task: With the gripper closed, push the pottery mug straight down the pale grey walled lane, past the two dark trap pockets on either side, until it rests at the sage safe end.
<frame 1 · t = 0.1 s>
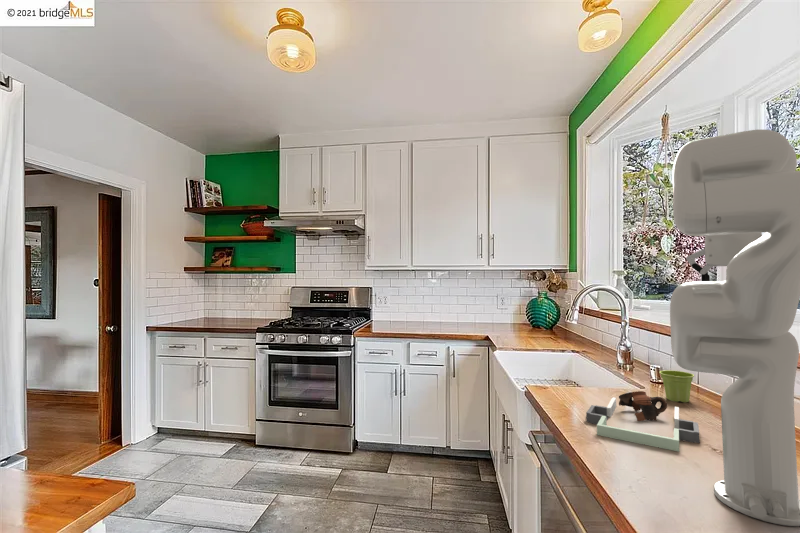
hand: (734, 291, 88), 37 cm above the countertop, tool pointing down, fingers open, 9 cm apart
pottery mug: (643, 417, 111), on the countertop
plant pot: (677, 400, 126), on the countertop
trap box: (640, 424, 105), on the countertop
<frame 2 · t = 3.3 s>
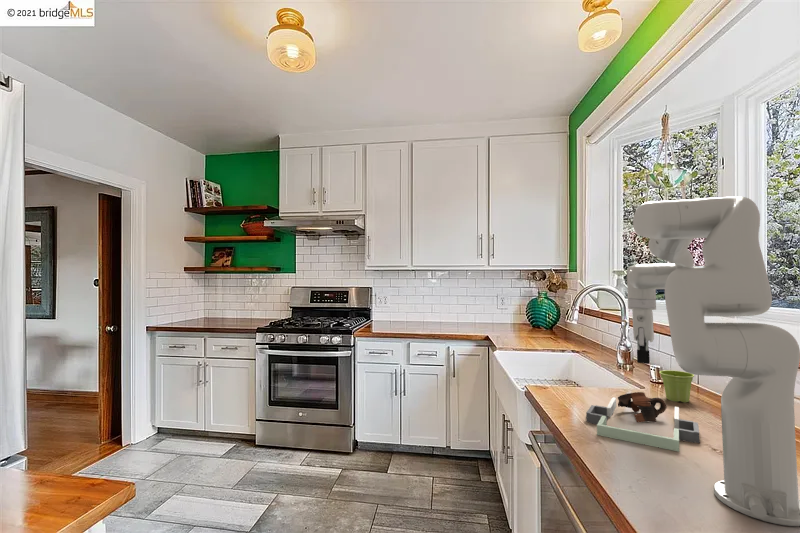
hand: (643, 362, 120), 14 cm above the countertop, tool pointing down, fingers closed
pottery mug: (642, 418, 110), on the countertop
everything else where it was.
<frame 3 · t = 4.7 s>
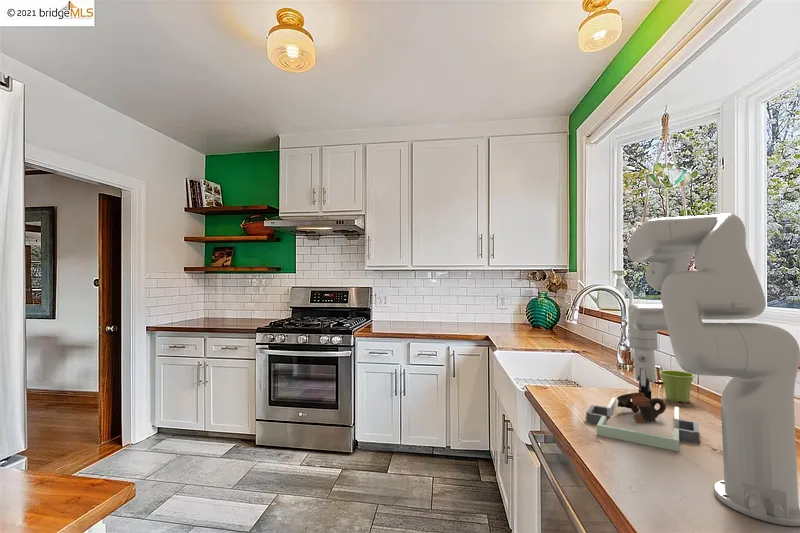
hand: (645, 402, 119), 1 cm above the countertop, tool pointing down, fingers closed
nothing on the countertop moved.
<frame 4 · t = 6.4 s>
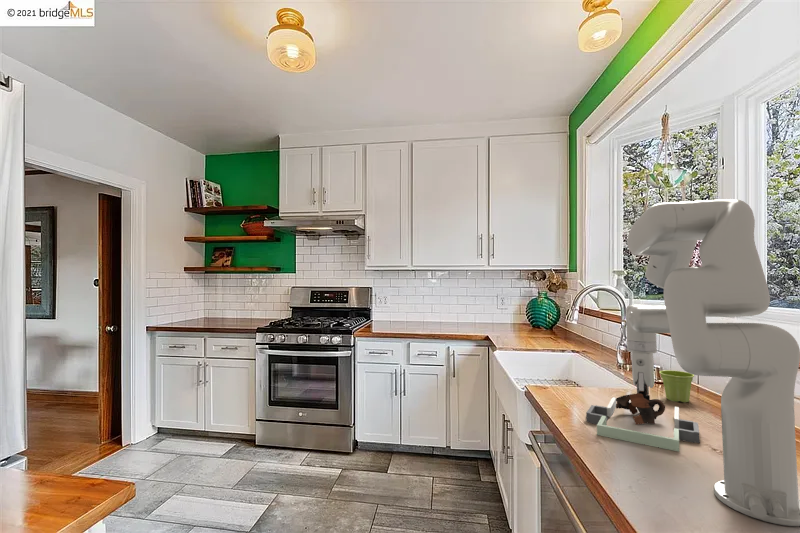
hand: (643, 408, 114), 1 cm above the countertop, tool pointing down, fingers closed
pottery mug: (640, 420, 108), on the countertop, touching gripper
everything else where it was.
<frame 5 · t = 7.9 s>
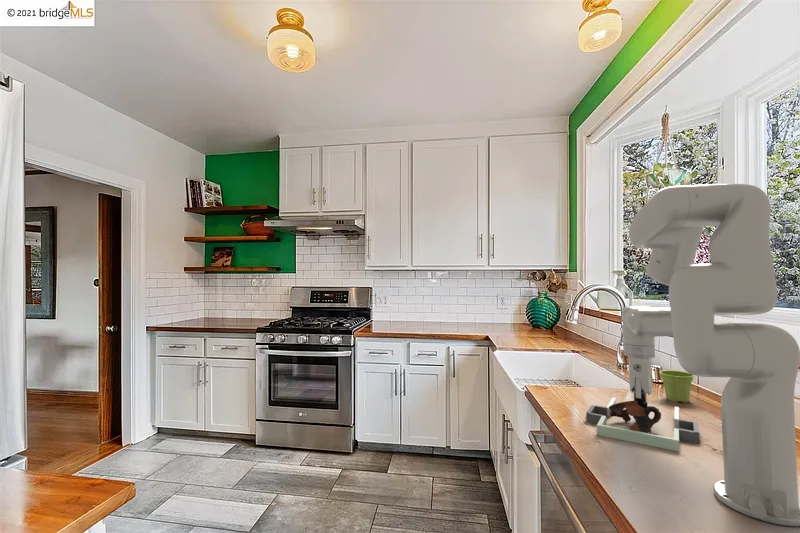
hand: (640, 416, 107), 1 cm above the countertop, tool pointing down, fingers closed
pottery mug: (635, 429, 102), on the countertop, touching gripper
everything else where it was.
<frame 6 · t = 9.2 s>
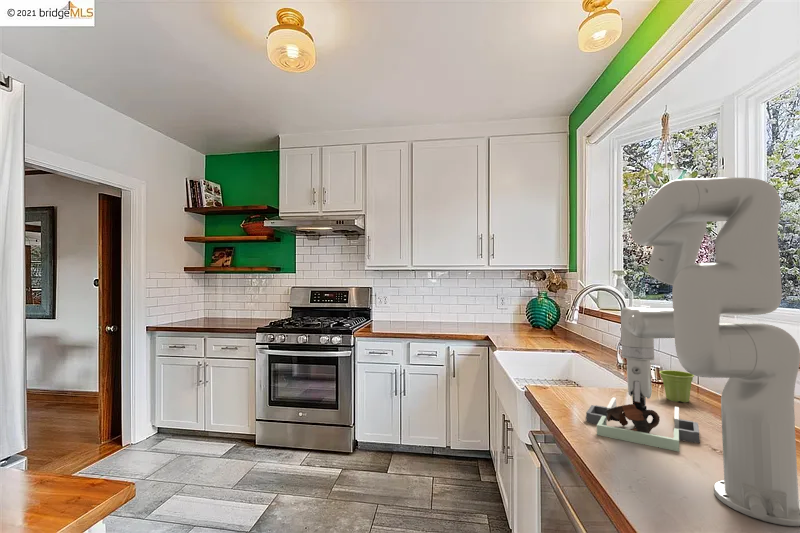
hand: (639, 420, 104), 1 cm above the countertop, tool pointing down, fingers closed
pottery mug: (633, 433, 99), on the countertop, touching gripper
everything else where it was.
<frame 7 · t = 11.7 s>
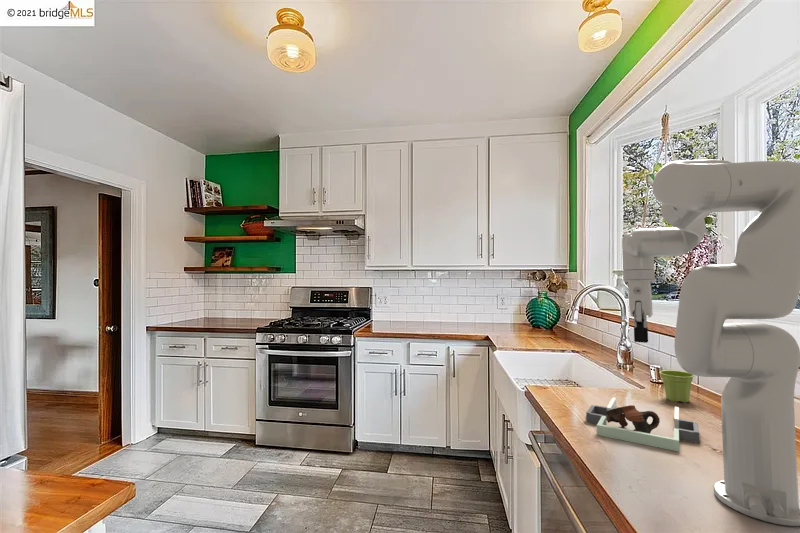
hand: (641, 341, 107), 22 cm above the countertop, tool pointing down, fingers closed
pottery mug: (633, 434, 99), on the countertop, touching trap box
everything else where it was.
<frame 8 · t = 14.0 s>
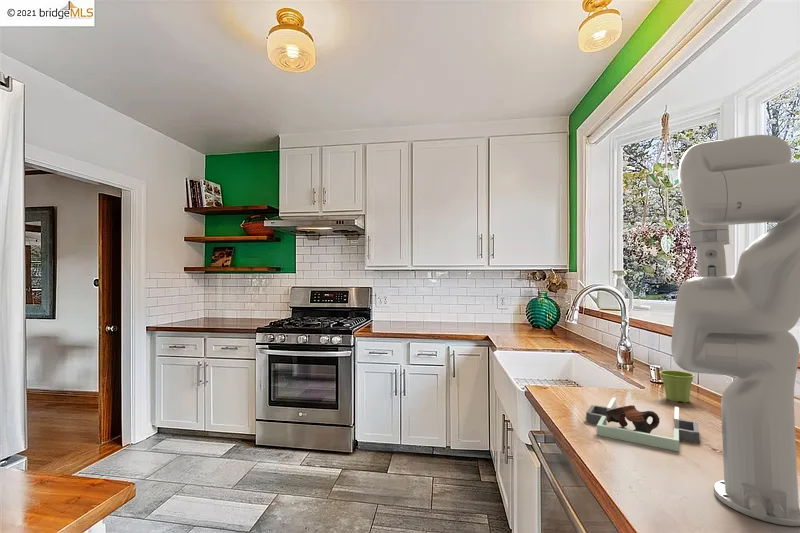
hand: (712, 313, 93), 31 cm above the countertop, tool pointing down, fingers closed
pottery mug: (633, 434, 99), on the countertop
everything else where it was.
at the end: pottery mug inside the target area (1.3 cm from its centre), on the countertop; pottery mug moved 16.4 cm from its start; pottery mug tilted 0° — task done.
